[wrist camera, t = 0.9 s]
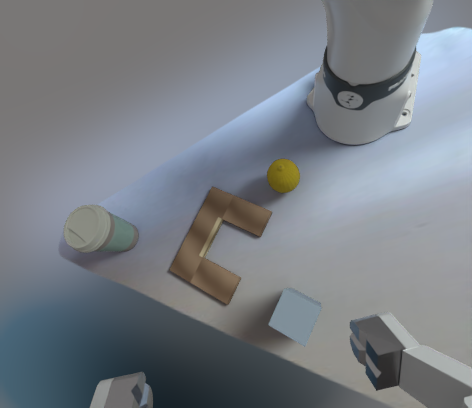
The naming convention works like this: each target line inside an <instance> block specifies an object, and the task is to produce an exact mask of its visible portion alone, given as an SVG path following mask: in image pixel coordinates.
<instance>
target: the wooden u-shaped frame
mask: <svg viewBox="0 0 472 408" xmlns="http://www.w3.org/2000/svg"><path fill="white" fill-rule="evenodd" d="M271 214H272V211H270V210H267V209H265V208H262V207H260V206H258V205H255V204H253V203H250V202H248V201H246V200H243V199H241V198H239V197H236V196H234V195H231V194H229V193H227V192H224V191H222V190H220V189H217V188H215V187H212V188H211V190H210V192H209V194H208V196H207V198H206V200H205V201H204V203H203V205H202V207H201V209H200V211H199V213H198V215H197V217H196V219H195V221H194V223H193V225H192V227H191V229H190V231H189V233H188V234H187V236H186V238H185V240H184V242H183V244H182V246H181V248H180V250H179V252H178V254H177V256H176V258H175V260H174V262H173V264H172V266H171V268H170V269H169V270H170V271H172V272H173V273H175V274H177V275H178V276H180V277H182V278H183V279H185V280H187V281H188V282H190V283H192V284H193V285H195V286H197V287H199V288H200V289H202V290H204V291H205V292H207V293H209V294H210V295H212V296H214V297H215V298H217V299H219V300H220V301H222V302H224V303H225V304H227V305H228V304H229V303H230V301H231V299H232V296H233V294H234V292H235V290H236V288H237V286H238V284H239V282H240V280H241V277H239V276H237V275H235V274H233V273H231V272H230V271H228V270H226V269H224V268H222V267H220V266H219V265H217V264H215V263H213V262H211V261H209V260H208V259H206V258H205V256H206V254H207V252H208V250H209V248H210V246H211V244H212V242H213V240H214V238H215V236H216V234H217V232H218V230H219V228H220V226H221V224H222V222H223V220H225V221H227V222H229V223H231V224H233V225H236V226H238V227H240V228H242V229H244V230H246V231H248V232H251V233H253V234H255V235H257V236H259V237H261V235H262V233H263V231H264V229H265V227H266V225H267V223H268V221H269V218H270V216H271Z"/></svg>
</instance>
